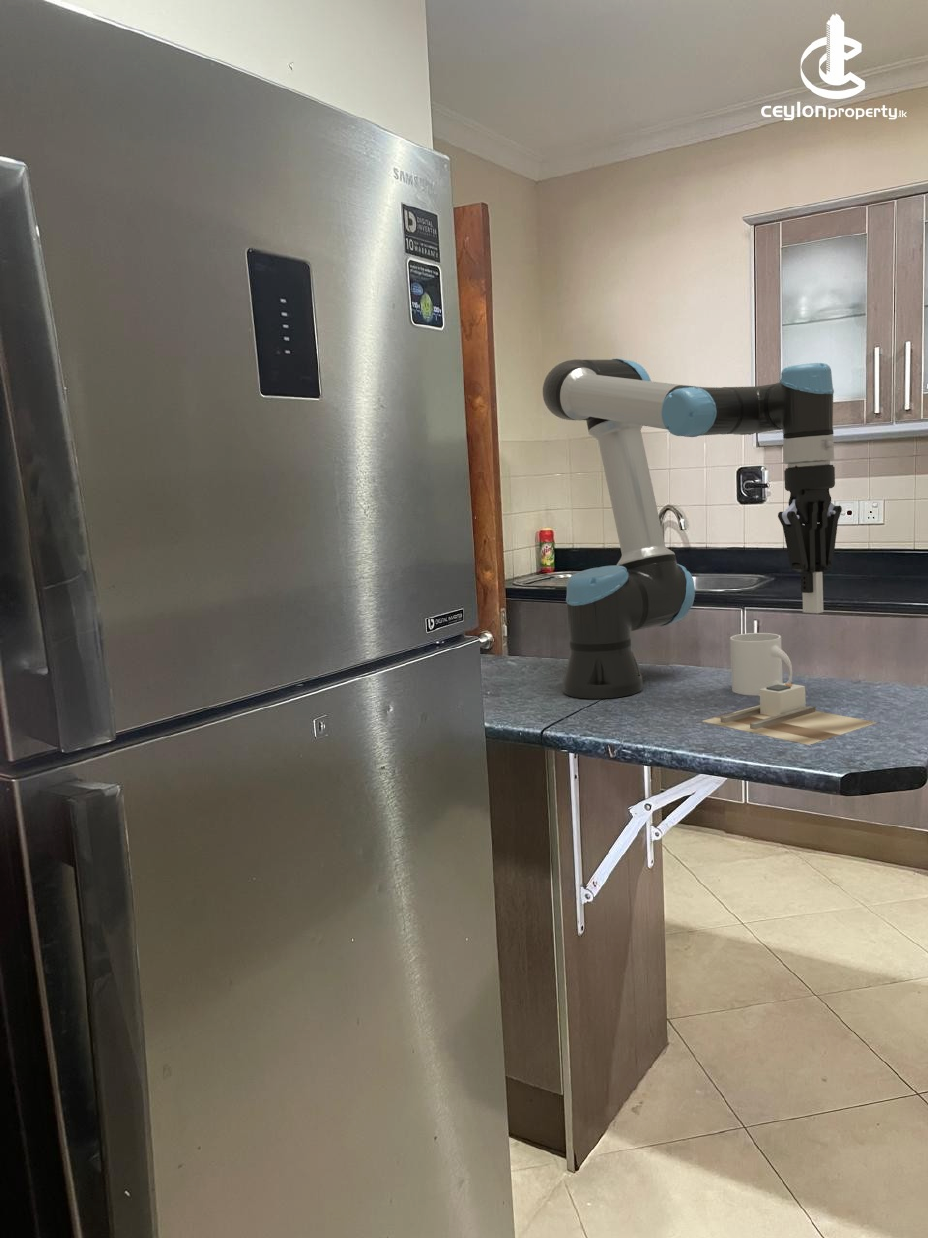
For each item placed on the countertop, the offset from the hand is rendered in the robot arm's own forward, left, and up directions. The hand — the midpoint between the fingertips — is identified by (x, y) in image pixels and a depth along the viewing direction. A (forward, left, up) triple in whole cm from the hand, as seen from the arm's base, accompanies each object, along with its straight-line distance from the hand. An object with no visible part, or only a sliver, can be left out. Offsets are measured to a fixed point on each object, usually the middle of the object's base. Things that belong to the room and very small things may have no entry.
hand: (813, 611), depth 151 cm
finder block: (0, -8, -15) cm, 17 cm away
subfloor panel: (+4, -12, -16) cm, 21 cm away
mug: (-12, +2, -17) cm, 21 cm away
